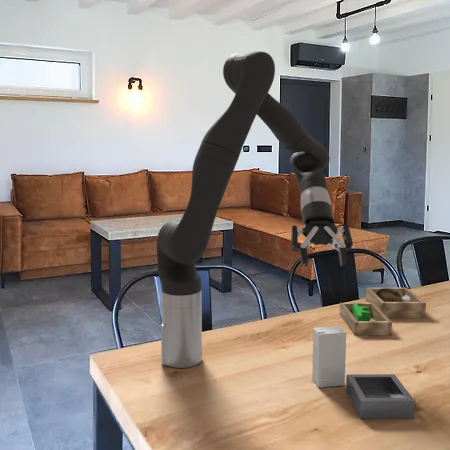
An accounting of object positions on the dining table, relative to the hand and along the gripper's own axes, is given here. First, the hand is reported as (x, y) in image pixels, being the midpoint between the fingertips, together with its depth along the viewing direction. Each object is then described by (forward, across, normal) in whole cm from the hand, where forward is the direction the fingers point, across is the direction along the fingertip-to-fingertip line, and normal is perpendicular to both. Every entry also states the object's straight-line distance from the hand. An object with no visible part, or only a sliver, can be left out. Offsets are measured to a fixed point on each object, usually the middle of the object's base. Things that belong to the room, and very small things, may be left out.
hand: (324, 264), depth 119 cm
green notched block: (0, +16, +33) cm, 37 cm away
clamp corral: (0, +16, +33) cm, 37 cm away
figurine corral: (-9, +29, +42) cm, 52 cm away
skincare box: (+26, -1, +7) cm, 27 cm away
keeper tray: (+32, +7, +1) cm, 32 cm away
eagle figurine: (-9, +29, +42) cm, 52 cm away
